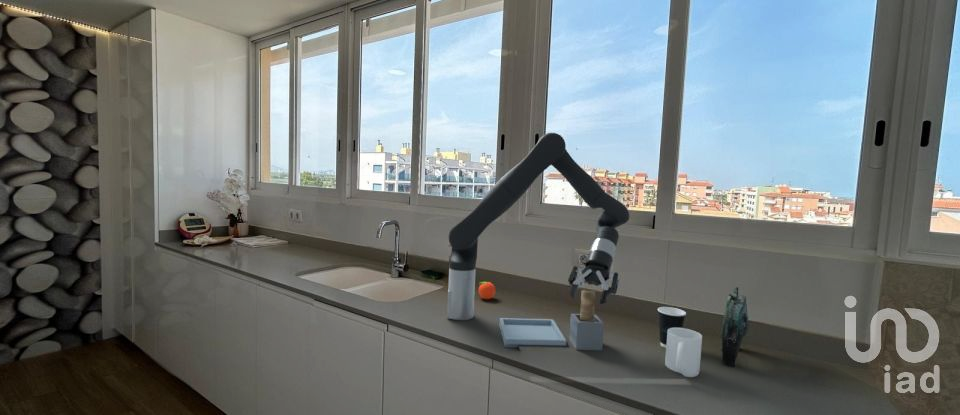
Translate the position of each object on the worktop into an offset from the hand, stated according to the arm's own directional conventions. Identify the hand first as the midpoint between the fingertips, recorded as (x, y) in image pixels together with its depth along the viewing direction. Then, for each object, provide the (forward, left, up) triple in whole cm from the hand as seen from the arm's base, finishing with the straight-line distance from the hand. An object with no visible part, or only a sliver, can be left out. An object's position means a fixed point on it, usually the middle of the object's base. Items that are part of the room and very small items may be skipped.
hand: (587, 300), depth 122 cm
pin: (0, +1, -13) cm, 14 cm away
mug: (+21, -14, -15) cm, 30 cm away
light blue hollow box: (0, +1, -15) cm, 15 cm away
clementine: (-27, +48, -15) cm, 56 cm away
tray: (-15, +9, -15) cm, 22 cm away
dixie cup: (+27, +4, -15) cm, 31 cm away
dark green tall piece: (+43, -2, -15) cm, 46 cm away
